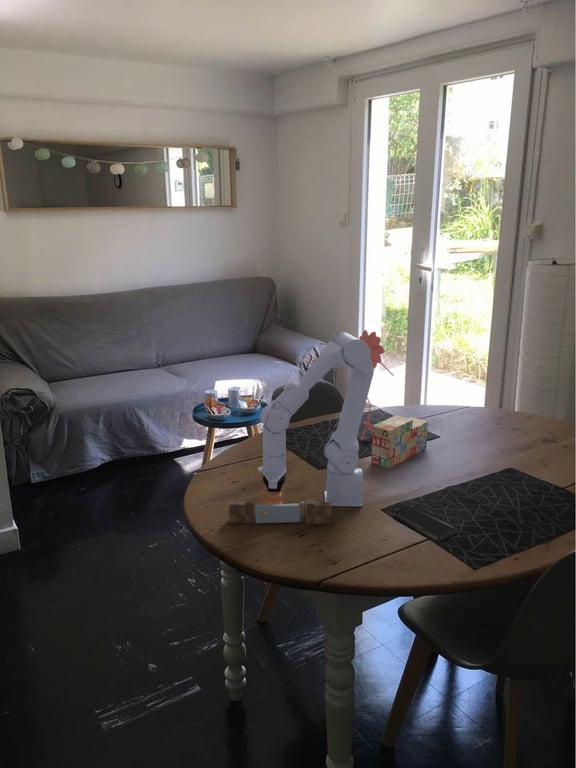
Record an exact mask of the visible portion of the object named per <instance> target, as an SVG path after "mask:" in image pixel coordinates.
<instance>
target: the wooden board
mask: <svg viewBox="0 0 576 768" xmlns="http://www.w3.org/2000/svg"><path fill="white" fill-rule="evenodd" d="M332 507H333V506H332V505H331V502H325V501H324V502H323V501H316V500H315V499H306V525H332V509H333V508H332ZM228 518H229V519H228V520H229V521H228V523H229V524H255V499H253V498H251V499H250V498H246V499H245V500H244V501H242V500H229V502H228Z"/></svg>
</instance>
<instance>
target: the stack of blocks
mask: <svg viewBox="0 0 576 768" xmlns="http://www.w3.org/2000/svg"><path fill="white" fill-rule="evenodd" d="M428 423H429V422H428V421H427V420H424V419H419V418H415V417H412V416H411V417H409V418H407V417H404V416H400V415H393V416H392V417H389V418H386V419H385V420H383V421H380V422H377V423H376V424H374V425H372V427H373V433H372V435H371V461H370V463H371V464H373V465H376V466H379V467H382V468H385V469H387V468H388V469H390V468H393V467H395V466H396V465H398V464H401V463H402V462H404V461H405V460H407V459H409V458H411V457H413V456H415V455H417V454H418V453H421V452H422V451H424V450H426V449H427V441H428ZM394 465H395V466H394Z"/></svg>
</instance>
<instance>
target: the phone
mask: <svg viewBox="0 0 576 768" xmlns="http://www.w3.org/2000/svg"><path fill="white" fill-rule="evenodd" d="M392 516H393V518H394V519H396V520H397V521H398V522H401V523H403V524H405V525H407V526H409V527H410V528H413V529H414V530H416V531H417V532H420V533H422V534H424V535H426V536H427V537H429V538H431V539H433V540H435V541H442V540H445V539H447V538H449V537H451V536H453V535H455V534H457V533H458V532H459V527H458V526H456V525H454V524H453V523H450V522H448V521H447V520H444V519H442V518H440V517H438V516H437V515H434V514H432V513H429V512H427V511H426V510H424V509H422V508H420V507H417V506H415V505H410V506H407V507H405V508H402V509H399V510H398V511H394V512H393V515H392Z"/></svg>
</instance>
